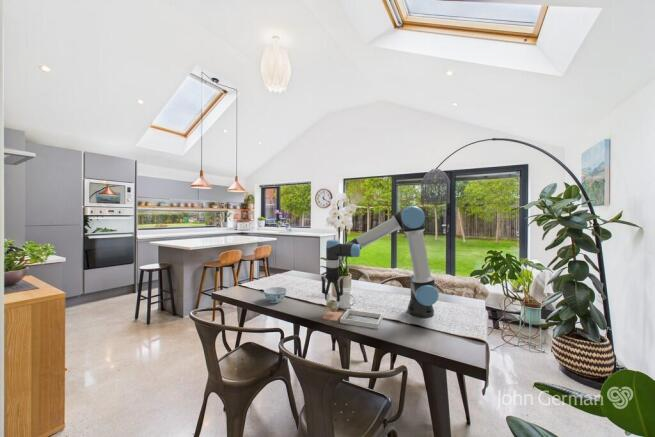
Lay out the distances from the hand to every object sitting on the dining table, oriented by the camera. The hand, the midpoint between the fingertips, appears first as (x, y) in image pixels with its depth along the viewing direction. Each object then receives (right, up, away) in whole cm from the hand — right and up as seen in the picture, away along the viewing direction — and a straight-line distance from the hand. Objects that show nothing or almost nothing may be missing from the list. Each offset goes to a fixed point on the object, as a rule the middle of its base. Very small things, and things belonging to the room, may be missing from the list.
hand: (332, 306), depth 159 cm
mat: (0, -6, 0) cm, 6 cm away
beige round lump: (0, -2, 0) cm, 2 cm away
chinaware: (-38, -5, +25) cm, 46 cm away
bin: (+16, -6, -6) cm, 19 cm away
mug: (+10, -5, +15) cm, 18 cm away
